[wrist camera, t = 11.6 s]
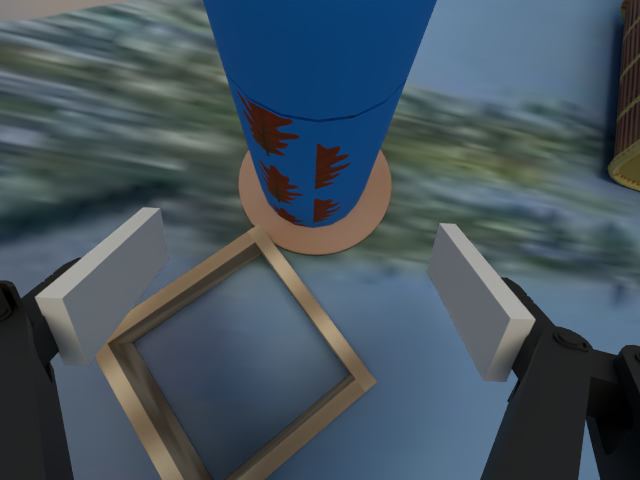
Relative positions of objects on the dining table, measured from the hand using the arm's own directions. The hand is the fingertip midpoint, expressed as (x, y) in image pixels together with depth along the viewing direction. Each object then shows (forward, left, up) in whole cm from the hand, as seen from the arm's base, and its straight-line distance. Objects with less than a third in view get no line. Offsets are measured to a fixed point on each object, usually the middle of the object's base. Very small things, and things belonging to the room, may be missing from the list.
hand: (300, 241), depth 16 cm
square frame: (+2, -8, -17) cm, 19 cm away
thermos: (-9, +8, -16) cm, 20 cm away
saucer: (-8, +8, -17) cm, 20 cm away
